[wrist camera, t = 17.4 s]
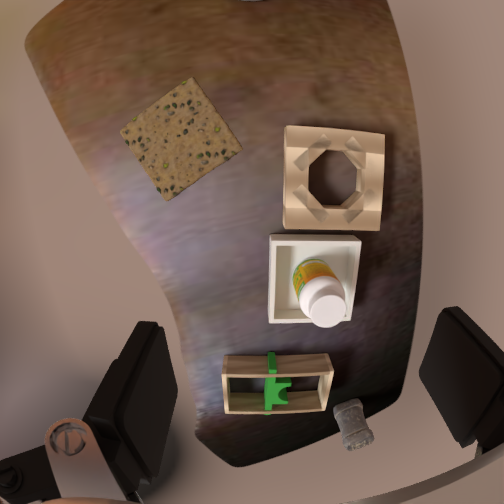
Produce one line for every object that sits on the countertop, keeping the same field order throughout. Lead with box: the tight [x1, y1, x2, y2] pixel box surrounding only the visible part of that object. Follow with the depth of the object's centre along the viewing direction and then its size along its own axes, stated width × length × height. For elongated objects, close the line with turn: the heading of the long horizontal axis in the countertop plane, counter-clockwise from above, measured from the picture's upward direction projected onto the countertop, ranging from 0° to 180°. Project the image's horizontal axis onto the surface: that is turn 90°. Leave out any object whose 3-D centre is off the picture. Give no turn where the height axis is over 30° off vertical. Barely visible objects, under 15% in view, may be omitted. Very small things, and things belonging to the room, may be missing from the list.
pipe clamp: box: [264, 352, 291, 415], centre depth 43 cm, size 10×4×4 cm, turn 178°
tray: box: [268, 234, 361, 323], centre depth 38 cm, size 11×11×3 cm
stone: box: [334, 398, 374, 451], centre depth 43 cm, size 3×6×10 cm, turn 110°
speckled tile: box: [120, 77, 243, 201], centre depth 34 cm, size 12×12×1 cm
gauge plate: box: [283, 126, 385, 231], centre depth 34 cm, size 12×12×3 cm
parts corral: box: [222, 353, 334, 414], centre depth 43 cm, size 9×16×4 cm, turn 90°
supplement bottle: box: [292, 258, 347, 327], centre depth 34 cm, size 5×5×10 cm
